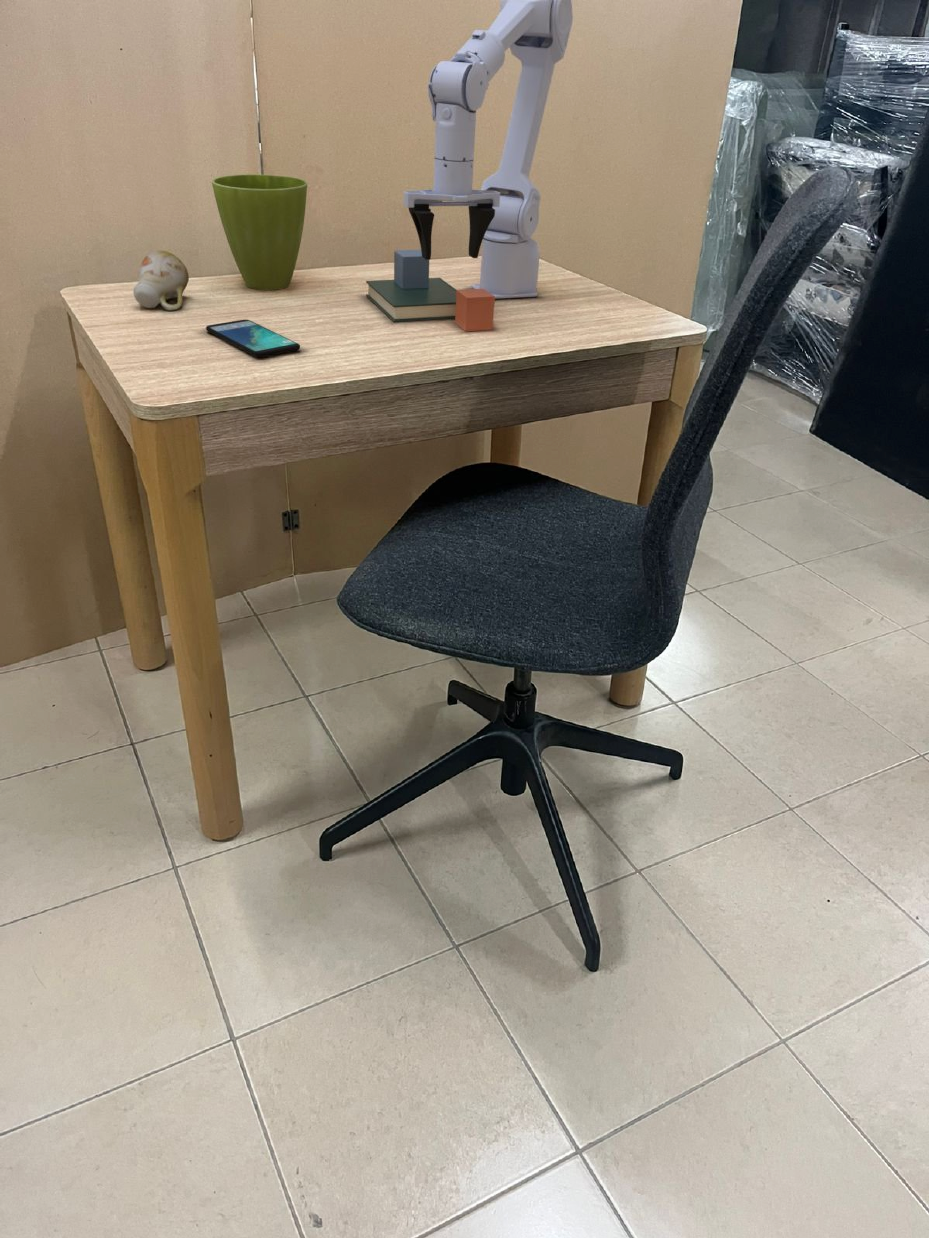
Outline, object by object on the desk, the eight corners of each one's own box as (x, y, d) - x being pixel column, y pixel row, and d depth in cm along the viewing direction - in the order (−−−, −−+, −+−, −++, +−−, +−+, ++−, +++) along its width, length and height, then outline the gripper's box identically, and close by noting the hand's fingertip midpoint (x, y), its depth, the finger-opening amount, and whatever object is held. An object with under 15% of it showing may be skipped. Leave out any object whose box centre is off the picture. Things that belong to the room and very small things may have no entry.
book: (439, 292, 155) (439, 277, 153) (471, 317, 143) (472, 301, 142) (366, 296, 150) (365, 280, 149) (393, 322, 139) (393, 305, 138)
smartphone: (247, 318, 134) (302, 345, 125) (248, 323, 134) (302, 350, 125) (203, 325, 130) (256, 353, 121) (203, 331, 130) (257, 359, 121)
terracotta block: (481, 321, 142) (483, 288, 139) (492, 329, 138) (495, 296, 136) (454, 323, 140) (456, 290, 138) (465, 331, 137) (467, 297, 134)
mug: (121, 311, 137) (116, 244, 136) (162, 325, 146) (157, 262, 145) (163, 304, 135) (157, 236, 134) (201, 319, 144) (196, 255, 143)
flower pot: (203, 282, 152) (192, 178, 143) (273, 269, 162) (266, 171, 153) (260, 301, 144) (251, 192, 136) (329, 287, 154) (326, 184, 145)
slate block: (419, 281, 151) (420, 249, 148) (428, 288, 147) (429, 256, 144) (393, 282, 149) (394, 250, 146) (402, 289, 146) (402, 256, 143)
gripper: (414, 162, 125) (412, 265, 133) (510, 163, 130) (503, 262, 138) (399, 155, 131) (398, 254, 138) (492, 156, 135) (486, 251, 143)
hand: (449, 257), depth 138 cm, fingers open, 7 cm apart
